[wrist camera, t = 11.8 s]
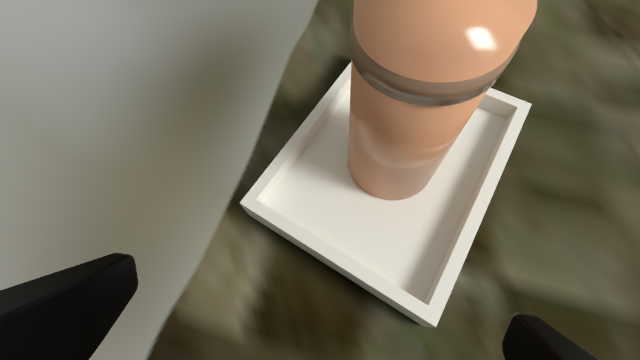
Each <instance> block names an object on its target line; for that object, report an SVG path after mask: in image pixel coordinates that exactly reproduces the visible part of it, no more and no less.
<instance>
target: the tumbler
mask: <svg viewBox="0 0 640 360" xmlns="http://www.w3.org/2000/svg"><path fill="white" fill-rule="evenodd" d="M536 9H537V0H354V9H353V12H352V16H351V30H350V53H351V58H352V63H351V87H350V111H349V135H348V169H349V172H350V175H351V177H352V178H353V180H354V182H355V183H356V184H357V185H358V186H359V187H360V188H361V189H362V190H363V191H365V192H366V193H368V194H370V195H371V196H374V197H376V198H379V199H383V200H403V199H407V198H410V197H412V196H414V195H416V194H418V193H419V192H420V191H422V190H423V189H424V188H425V187H426V185H427V184H428V183H429V181H430V180H431V178H432V176H433V175H434V173H435V172H436V170H437V169H438V167H439V166H440V164H441V162H442V161H443V159H444V158H445V156H446V155H447V153H448V152H449V150H450V148H451V147H452V145H453V144H454V142H455V141H456V139H457V138H458V136H459V134H460V133H461V131H462V130H463V128H464V127H465V125H466V124H467V122H468V120H469V119H470V117H471V116H472V114H473V113H474V111H475V110H476V108H477V106H478V105H479V103H480V102H481V100H482V99H483V97H484V96H485V94H486V92H487V91H488V89H489V88H490V87H491V86H492V85H493V84H494V83H495V82H496V81H497V80H498V78H499V77H500V75H501V74H502V72H503V71H504V69H505V68H506V66H507V65H508V63H509V62H510V60H511V59H512V57H513V56H514V54H515V52H516V50H517V48H518V47H519V43H520V40H521V38H522V36H523V35H524V33H525V32H526V30H527V29H528V27H529V26H530V24H531V22H532V20H533V18H534V16H535V13H536Z"/></svg>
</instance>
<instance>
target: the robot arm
mask: <svg viewBox="0 0 640 360" xmlns="http://www.w3.org/2000/svg"><path fill="white" fill-rule="evenodd" d="M137 286H138V278H137V272H136V265H135V260H134V258H133V257H132V256H131V255H128V254H121V253H113V254H110V255H107V256H104V257H101V258H98V259H95V260H92V261H89V262H86V263H83V264H80V265H77V266H74V267H71V268H67V269H64V270H62V271H59V272H55V273H52V274H49V275H46V276H43V277H40V278H37V279H34V280H31V281H28V282H25V283H22V284H19V285H16V286H13V287H10V288H7V289H4V290H1V291H0V360H89V358H90V357H91V356H92V354H93V353H94V352H95V351H96V349H97V348H98V346H99V345H100V344H101V342H102V340H103V339H104V338H105V336H106V335H107V333H108V332H109V330H110V329H111V327H112V326H113V324H114V323H115V322H116V320H117V319H118V317H119V316H120V314H121V313H122V311H123V310H124V308H125V307H126V305H127V304H128V302H129V301H130V299H131V298H132V296H133V295H134V293H135V292H136V290H137ZM502 349H503V354H504V357H505V360H597V359H596V358H595V357H593V356H592V355H590V354H589V353H588V352H586V351H585V350H583V349H582V348H581V347H579V346H578V345H576V344H575V343H573V342H572V341H571V340H569V339H568V338H566V337H565V336H564V335H562V334H561V333H559V332H558V331H557V330H555V329H554V328H552V327H551V326H550V325H548V324H547V323H545V322H544V321H543V320H541V319H540V318H538V317H537V316H534V315H528V314H521V313H516V314H514V315H513V316H512V317H511V319H510V322H509V325H508V328H507V330H506V333H505V336H504V338H503V343H502Z"/></svg>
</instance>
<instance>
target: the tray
mask: <svg viewBox="0 0 640 360" xmlns="http://www.w3.org/2000/svg"><path fill="white" fill-rule="evenodd" d="M351 63H352V61H351V62H350V64H349V65H348V66H347V67H346V69H345V70H344V71H343V72H342V74H341V75H340V76H339V78H338V79H337V80H336V81H335V83H334V84H333V85H332V86H331V88H330V89H329V90H328V91H327V93H326V94H325V95H324V97H323V98H322V99H321V100H320V102H319V103H318V104H317V105H316V107H315V108H314V109H313V110H312V112H311V113H310V114H309V116H308V117H307V118H306V119H305V121H304V122H303V123H302V124H301V126H300V127H299V128H298V129H297V131H296V132H295V133H294V135H293V136H292V137H291V138H290V140H289V141H288V142H287V143H286V145H285V146H284V147H283V148H282V150H281V151H280V152H279V154H278V155H277V156H276V157H275V159H274V160H273V161H272V162H271V164H270V165H269V166H268V167H267V169H266V170H265V171H264V173H263V174H262V175H261V176H260V178H259V179H258V180H257V181H256V183H255V184H254V185H253V186H252V188H251V189H250V190H249V192H248V193H247V194H246V195H245V197H244V198H243V199H242V200H241V202H240V204H241V205H242V207H243V208H244V209H245V211H246V212H247V213H248V215H250V216H251V217H253V218H254V219H256V220H257V221H259V222H261V223H262V224H264V225H265V226H267V227H268V228H270V229H271V230H273V231H275V232H276V233H278V234H279V235H281V236H282V237H284V238H286V239H287V240H289V241H290V242H292V243H293V244H295V245H296V246H298V247H300V248H301V249H303V250H304V251H306V252H307V253H309V254H311V255H312V256H314V257H315V258H317V259H318V260H320V261H321V262H323V263H325V264H326V265H328V266H329V267H331V268H332V269H334V270H336V271H337V272H339V273H340V274H342V275H343V276H345V277H347V278H348V279H350V280H351V281H353V282H354V283H356V284H357V285H359V286H361V287H362V288H364V289H365V290H367V291H368V292H370V293H372V294H373V295H375V296H376V297H378V298H379V299H381V300H382V301H384V302H386V303H387V304H389V305H390V306H392V307H393V308H395V309H397V310H398V311H400V312H401V313H403V314H404V315H406V316H407V317H409V318H411V319H412V320H414V321H415V322H417V323H418V324H420V325H422V326H423V327H436V326H437V324H438V322H439V319H440V317H441V315H442V312H443V310H444V308H445V305H446V303H447V301H448V298H449V296H450V294H451V291H452V289H453V287H454V284H455V282H456V280H457V277H458V275H459V273H460V270H461V268H462V266H463V263H464V261H465V259H466V256H467V254H468V252H469V249H470V247H471V245H472V242H473V240H474V238H475V235H476V233H477V231H478V228H479V226H480V224H481V221H482V219H483V217H484V214H485V212H486V210H487V207H488V205H489V203H490V200H491V198H492V196H493V193H494V191H495V189H496V186H497V184H498V182H499V179H500V177H501V175H502V172H503V170H504V168H505V165H506V163H507V161H508V158H509V156H510V154H511V151H512V149H513V147H514V144H515V142H516V140H517V137H518V135H519V133H520V130H521V128H522V125H523V123H524V121H525V118H526V116H527V114H528V111H529V109H530V107H531V104H530V103H528V102H525V101H523V100H520V99H517V98H515V97H512V96H510V95H507V94H505V93H502V92H500V91H497V90H494V89H492V88H489V89H488V91H487V92H486V94H485V96H484V97H483V99H482V100H481V102H480V103H479V105H478V106H477V108H476V110H475V111H474V113H473V114H472V116H471V117H470V119H469V120H468V122H467V124H466V125H465V127H464V128H463V130H462V131H461V133H460V134H459V136H458V138H457V139H456V141H455V142H454V144H453V145H452V147H451V148H450V150H449V152H448V153H447V155H446V156H445V158H444V159H443V161H442V162H441V164H440V166H439V167H438V169H437V170H436V172H435V173H434V175H433V176H432V178H431V180H430V181H429V183H428V184H427V185H426V187H425V188H424V189H423V190H422V191H420V192H419V193H418V194H416V195H414V196H412V197H410V198H407V199H403V200H383V199H379V198H376V197H374V196H371V195H370V194H368V193H366V192H365V191H363V190H362V189H361V188H360V187H359V186H358V185H357V184H356V183H355V182H354V180H353V178H352V177H351V175H350V172H349V169H348V135H349V111H350V87H351Z"/></svg>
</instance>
